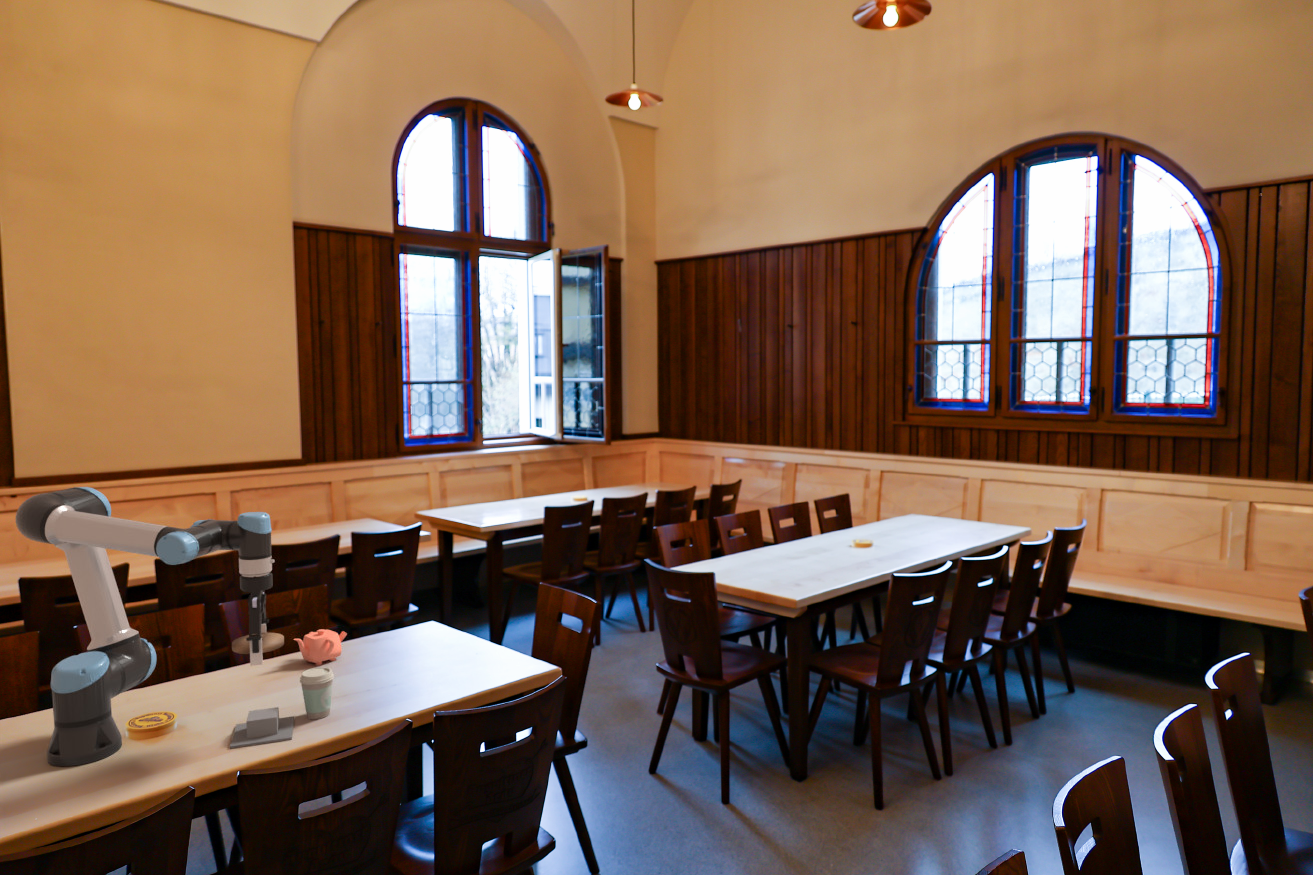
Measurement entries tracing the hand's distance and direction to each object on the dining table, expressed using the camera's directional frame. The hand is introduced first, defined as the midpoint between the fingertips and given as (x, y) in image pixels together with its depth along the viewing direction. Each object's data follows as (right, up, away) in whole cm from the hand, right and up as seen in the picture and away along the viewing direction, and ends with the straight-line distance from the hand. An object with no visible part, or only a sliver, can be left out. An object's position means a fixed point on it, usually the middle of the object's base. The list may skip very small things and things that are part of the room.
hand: (258, 656), depth 214 cm
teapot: (-6, -16, +56) cm, 58 cm away
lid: (0, +3, 0) cm, 3 cm away
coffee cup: (+10, -19, +13) cm, 25 cm away
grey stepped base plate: (+1, -20, +2) cm, 20 cm away
